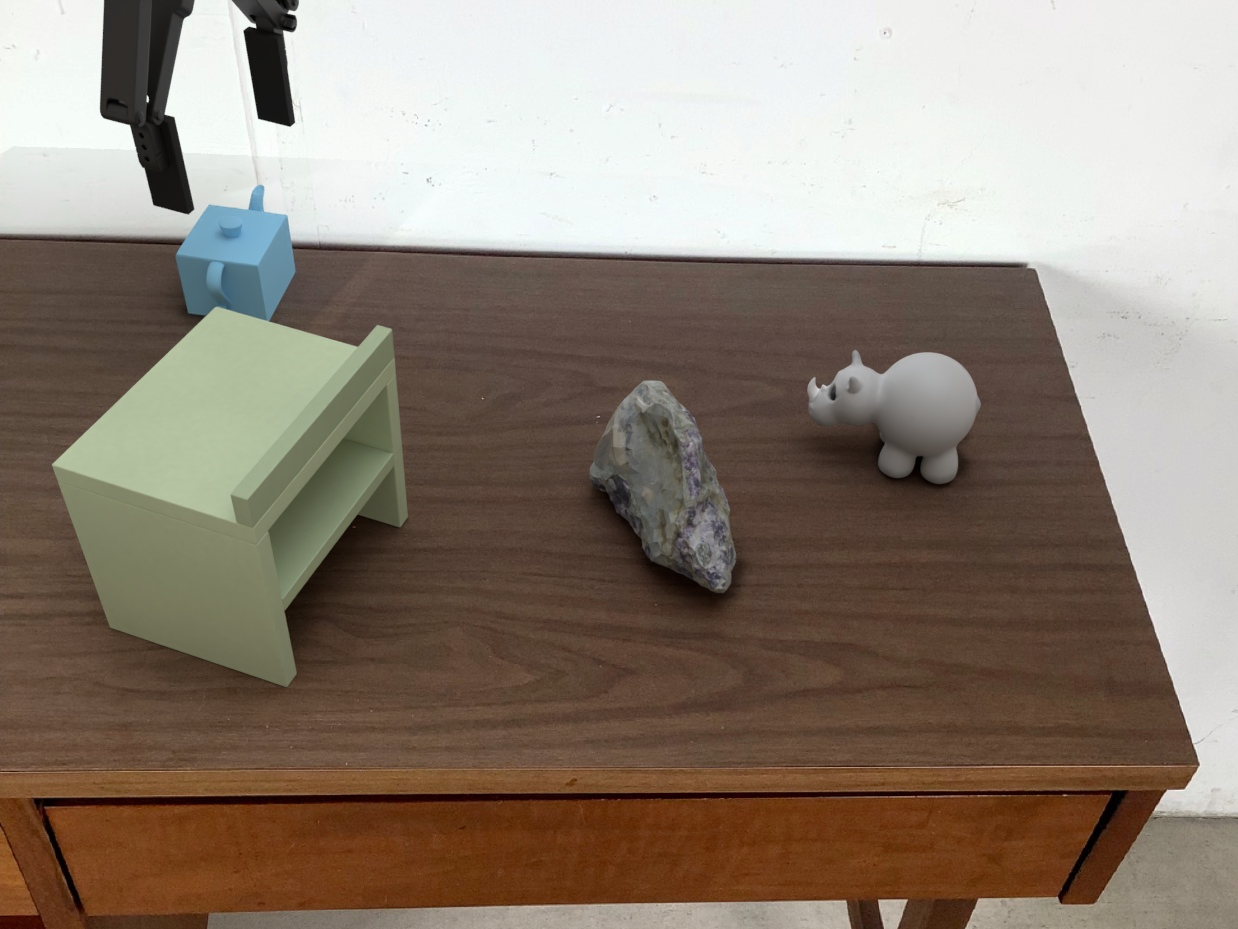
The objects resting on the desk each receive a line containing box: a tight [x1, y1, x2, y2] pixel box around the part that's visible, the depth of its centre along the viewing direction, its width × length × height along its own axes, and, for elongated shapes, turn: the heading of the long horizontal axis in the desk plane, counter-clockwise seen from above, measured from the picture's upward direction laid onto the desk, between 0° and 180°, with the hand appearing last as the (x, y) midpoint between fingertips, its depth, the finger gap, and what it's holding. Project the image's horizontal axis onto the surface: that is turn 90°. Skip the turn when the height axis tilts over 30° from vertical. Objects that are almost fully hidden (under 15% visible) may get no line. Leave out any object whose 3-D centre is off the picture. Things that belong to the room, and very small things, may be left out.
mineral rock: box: [589, 380, 737, 594], centre depth 82 cm, size 13×11×10 cm
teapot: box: [175, 184, 296, 322], centre depth 97 cm, size 12×6×8 cm, turn 173°
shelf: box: [51, 307, 409, 688], centre depth 76 cm, size 12×16×15 cm
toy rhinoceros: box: [806, 349, 982, 485], centre depth 90 cm, size 7×12×8 cm, turn 80°
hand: (227, 162), depth 91 cm, fingers open, 13 cm apart
